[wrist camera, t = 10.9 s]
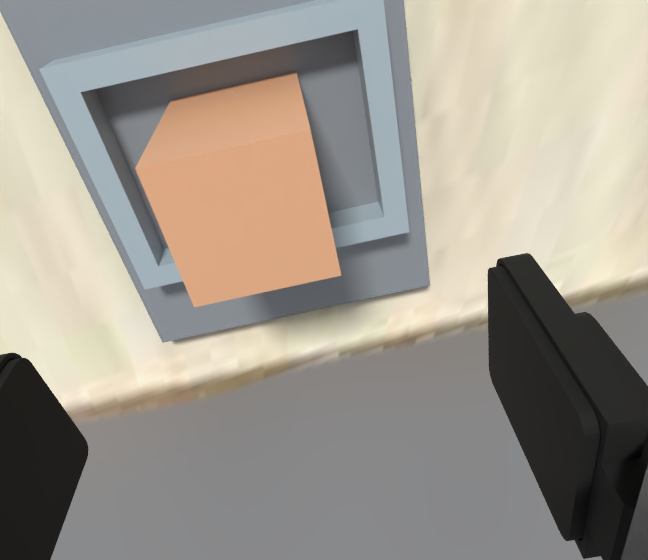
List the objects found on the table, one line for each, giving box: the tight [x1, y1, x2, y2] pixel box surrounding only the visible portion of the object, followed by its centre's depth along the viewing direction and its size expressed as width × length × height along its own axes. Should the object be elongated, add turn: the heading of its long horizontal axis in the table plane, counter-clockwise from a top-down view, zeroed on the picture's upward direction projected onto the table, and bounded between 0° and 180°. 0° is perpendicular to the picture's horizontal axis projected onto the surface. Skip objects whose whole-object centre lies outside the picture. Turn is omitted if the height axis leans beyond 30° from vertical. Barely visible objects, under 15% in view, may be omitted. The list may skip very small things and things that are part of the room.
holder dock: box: [0, 0, 430, 342], centre depth 21 cm, size 14×18×2 cm
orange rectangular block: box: [135, 72, 341, 307], centre depth 19 cm, size 5×5×7 cm
